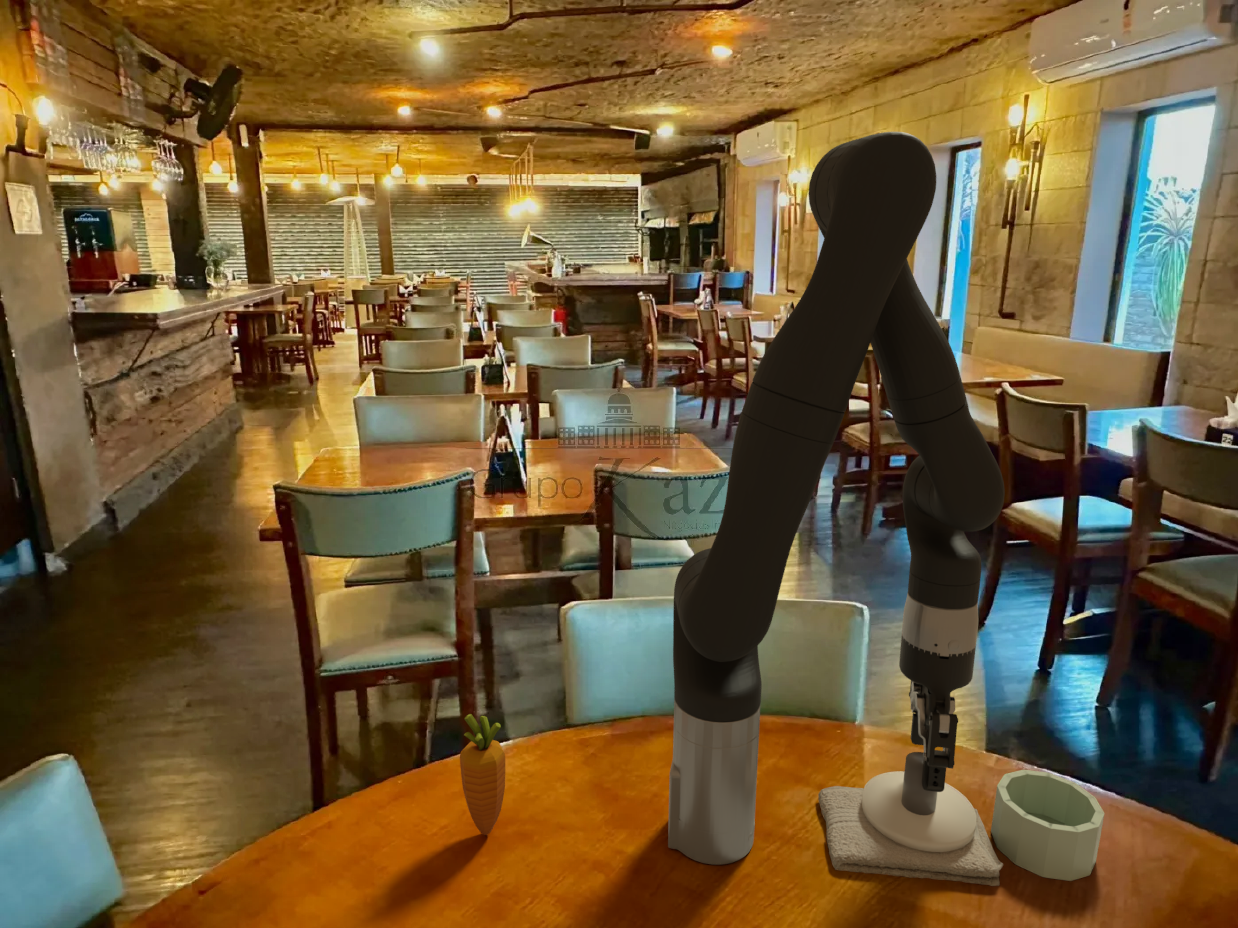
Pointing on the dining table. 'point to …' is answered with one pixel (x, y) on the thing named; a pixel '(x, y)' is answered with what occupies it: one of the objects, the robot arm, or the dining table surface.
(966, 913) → the dining table surface
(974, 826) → the lid
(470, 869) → the dining table surface
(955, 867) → the washcloth
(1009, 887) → the dining table surface
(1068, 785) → the cup
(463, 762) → the carrot
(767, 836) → the dining table surface
